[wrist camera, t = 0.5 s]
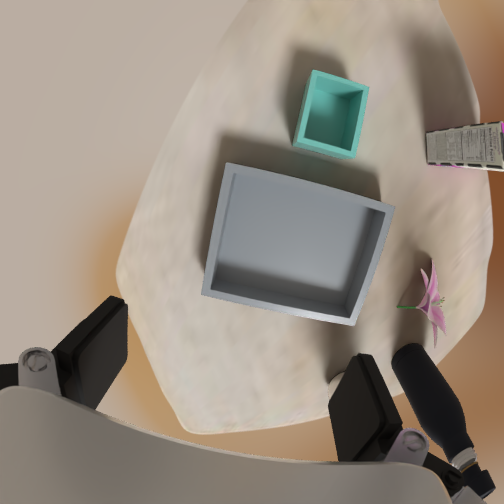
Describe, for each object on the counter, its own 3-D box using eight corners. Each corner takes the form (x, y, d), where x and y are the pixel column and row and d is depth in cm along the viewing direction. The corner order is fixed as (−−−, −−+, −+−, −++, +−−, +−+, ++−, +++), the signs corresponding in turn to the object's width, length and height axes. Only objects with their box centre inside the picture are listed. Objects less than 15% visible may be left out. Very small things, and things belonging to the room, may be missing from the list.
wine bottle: (424, 338, 41) (513, 472, 12) (422, 365, 42) (493, 494, 14) (391, 349, 41) (466, 501, 13) (390, 376, 43) (450, 518, 14)
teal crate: (305, 84, 31) (312, 69, 25) (354, 98, 31) (369, 87, 26) (291, 145, 34) (296, 141, 28) (341, 159, 34) (354, 158, 28)
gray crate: (231, 162, 35) (226, 162, 30) (381, 201, 35) (395, 206, 31) (207, 280, 39) (200, 294, 35) (346, 310, 40) (354, 326, 35)
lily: (426, 327, 41) (471, 333, 32) (378, 350, 38) (427, 363, 28) (421, 257, 42) (467, 253, 33) (372, 269, 38) (424, 267, 29)
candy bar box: (478, 137, 31) (554, 137, 15) (480, 169, 32) (556, 181, 16) (423, 129, 32) (501, 119, 16) (425, 165, 33) (505, 172, 17)
